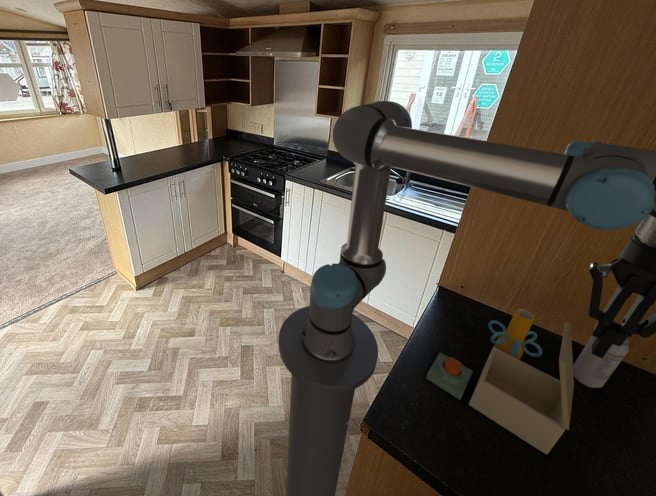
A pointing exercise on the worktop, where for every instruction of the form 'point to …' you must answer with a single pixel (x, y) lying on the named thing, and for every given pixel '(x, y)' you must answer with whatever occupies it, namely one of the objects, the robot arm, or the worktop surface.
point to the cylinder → (516, 335)
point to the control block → (449, 377)
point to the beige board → (566, 375)
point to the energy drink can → (598, 364)
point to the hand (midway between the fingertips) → (597, 351)
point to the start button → (452, 366)
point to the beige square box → (520, 400)
